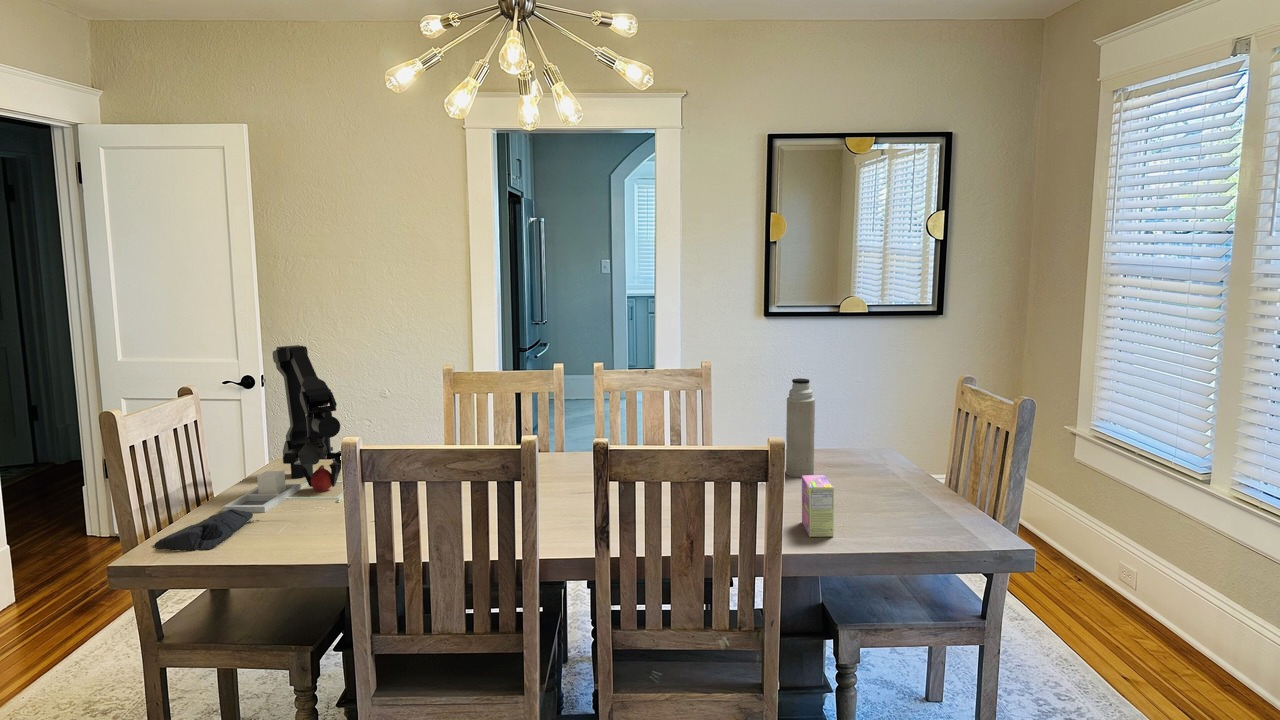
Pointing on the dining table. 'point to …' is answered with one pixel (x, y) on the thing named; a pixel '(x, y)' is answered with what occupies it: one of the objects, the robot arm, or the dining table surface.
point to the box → (817, 506)
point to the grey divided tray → (261, 500)
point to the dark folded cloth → (206, 532)
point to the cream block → (271, 482)
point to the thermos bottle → (800, 429)
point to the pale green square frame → (318, 497)
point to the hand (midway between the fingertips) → (322, 486)
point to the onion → (321, 479)
